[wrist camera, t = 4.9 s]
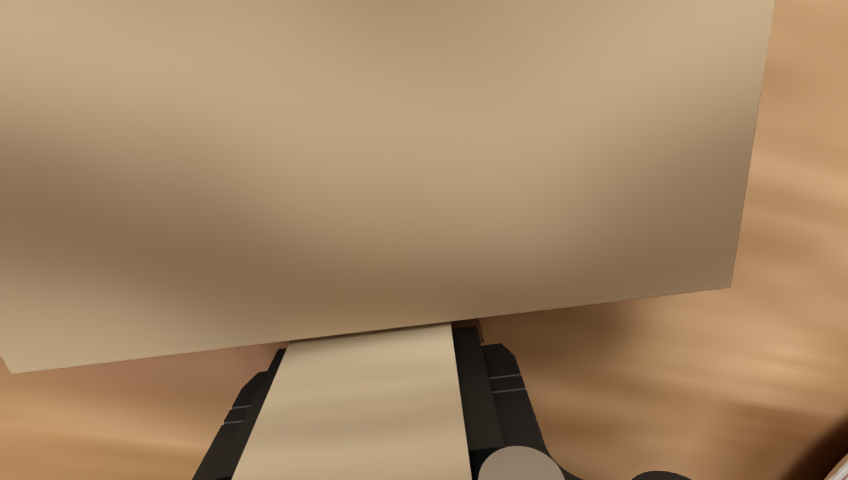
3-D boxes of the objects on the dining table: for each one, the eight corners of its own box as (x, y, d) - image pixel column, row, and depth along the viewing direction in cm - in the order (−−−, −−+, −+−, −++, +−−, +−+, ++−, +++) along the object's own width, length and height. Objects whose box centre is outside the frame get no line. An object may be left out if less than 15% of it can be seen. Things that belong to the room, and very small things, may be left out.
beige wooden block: (324, 260, 13) (180, 597, 5) (439, 245, 12) (483, 567, 5) (348, 352, 14) (267, 725, 6) (451, 339, 14) (500, 704, 6)
